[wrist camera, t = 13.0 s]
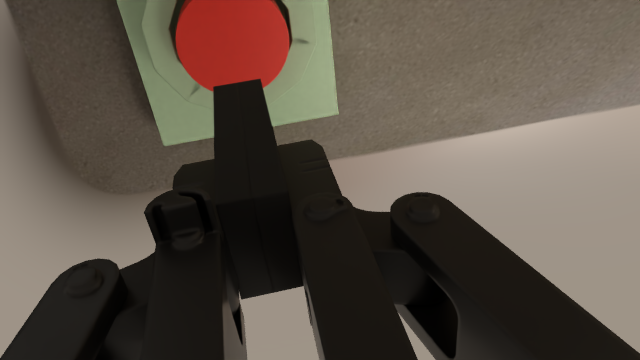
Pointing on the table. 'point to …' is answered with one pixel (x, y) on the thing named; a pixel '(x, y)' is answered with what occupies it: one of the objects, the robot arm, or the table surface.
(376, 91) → the table surface
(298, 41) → the button block
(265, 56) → the button
